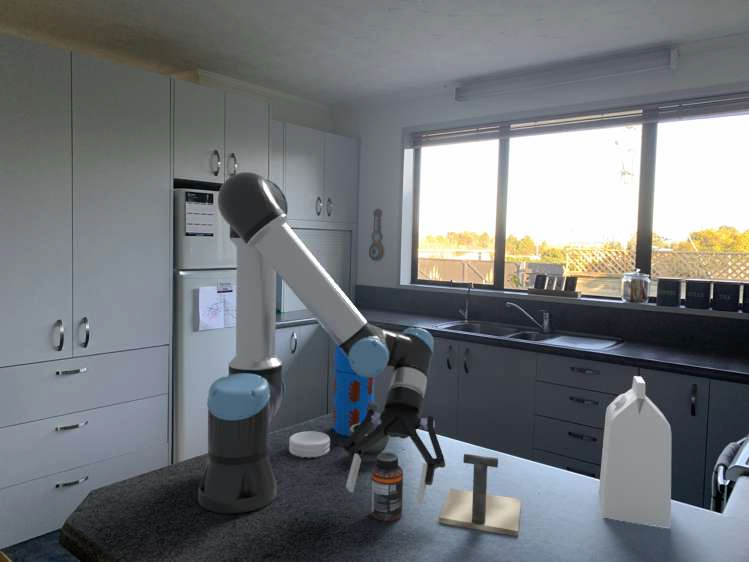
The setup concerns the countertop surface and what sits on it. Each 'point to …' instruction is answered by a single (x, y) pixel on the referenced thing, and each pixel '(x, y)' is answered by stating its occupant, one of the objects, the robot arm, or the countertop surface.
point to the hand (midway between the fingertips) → (384, 495)
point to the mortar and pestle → (377, 447)
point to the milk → (636, 460)
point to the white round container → (309, 444)
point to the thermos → (350, 394)
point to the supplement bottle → (386, 488)
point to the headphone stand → (481, 503)
